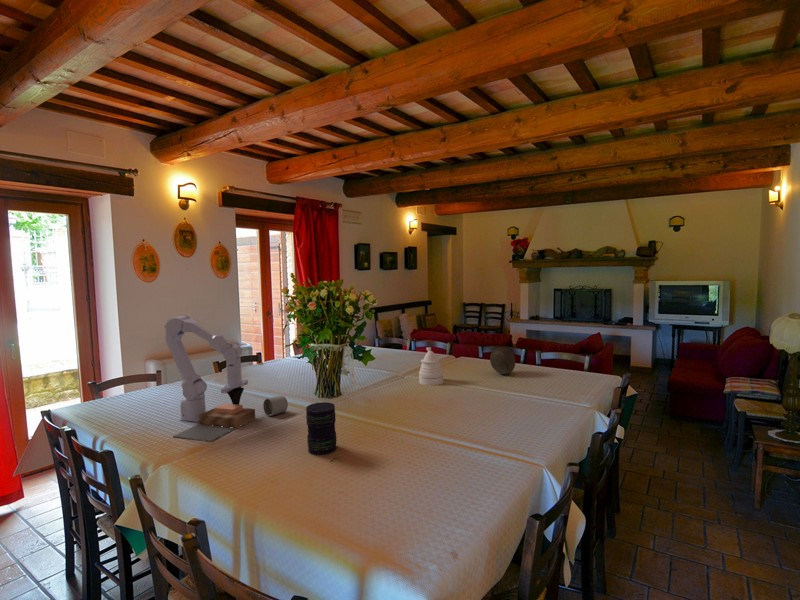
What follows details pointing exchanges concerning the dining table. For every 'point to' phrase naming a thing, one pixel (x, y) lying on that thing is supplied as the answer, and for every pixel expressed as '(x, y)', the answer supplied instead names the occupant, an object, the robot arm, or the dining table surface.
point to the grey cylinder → (275, 405)
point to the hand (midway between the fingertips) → (236, 405)
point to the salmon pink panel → (228, 408)
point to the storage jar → (321, 428)
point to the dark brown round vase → (502, 360)
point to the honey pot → (430, 370)
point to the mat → (204, 432)
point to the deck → (227, 418)
